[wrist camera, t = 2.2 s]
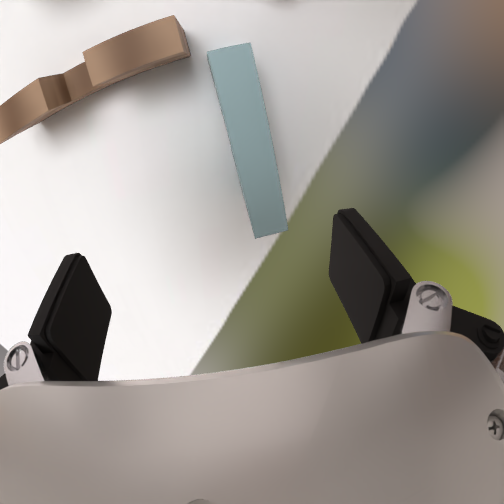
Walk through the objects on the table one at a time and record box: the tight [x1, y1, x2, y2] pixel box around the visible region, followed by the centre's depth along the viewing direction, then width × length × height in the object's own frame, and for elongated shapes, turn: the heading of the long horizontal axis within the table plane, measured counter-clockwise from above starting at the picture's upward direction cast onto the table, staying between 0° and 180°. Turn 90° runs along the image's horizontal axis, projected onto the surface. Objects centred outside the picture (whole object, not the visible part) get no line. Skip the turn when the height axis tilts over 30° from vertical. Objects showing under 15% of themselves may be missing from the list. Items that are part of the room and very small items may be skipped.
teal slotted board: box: [207, 43, 288, 239], centre depth 24 cm, size 3×16×9 cm, turn 13°
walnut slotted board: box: [0, 15, 191, 144], centre depth 19 cm, size 18×3×9 cm, turn 103°
